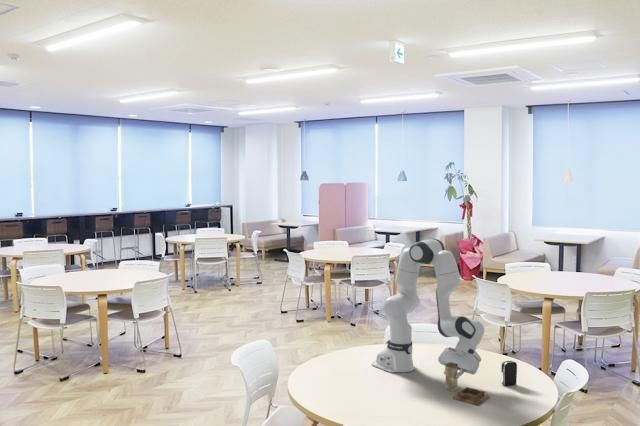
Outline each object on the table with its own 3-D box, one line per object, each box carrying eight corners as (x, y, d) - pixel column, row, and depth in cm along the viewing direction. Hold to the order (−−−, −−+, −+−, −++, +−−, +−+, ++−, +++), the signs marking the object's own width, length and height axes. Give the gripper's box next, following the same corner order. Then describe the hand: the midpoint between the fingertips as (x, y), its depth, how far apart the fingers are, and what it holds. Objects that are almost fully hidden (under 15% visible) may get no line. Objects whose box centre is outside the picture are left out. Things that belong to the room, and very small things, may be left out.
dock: (452, 398, 259) (452, 392, 258) (465, 390, 268) (465, 385, 268) (477, 405, 251) (477, 399, 251) (489, 397, 260) (489, 391, 260)
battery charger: (511, 382, 279) (512, 359, 278) (517, 385, 275) (517, 361, 274) (499, 384, 276) (500, 360, 276) (504, 386, 273) (505, 363, 272)
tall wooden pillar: (445, 389, 270) (445, 364, 269) (449, 386, 273) (449, 362, 272) (453, 391, 267) (453, 366, 266) (457, 388, 270) (457, 363, 269)
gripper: (443, 342, 281) (430, 366, 276) (479, 352, 265) (465, 378, 260) (449, 349, 284) (436, 373, 279) (484, 360, 269) (471, 385, 263)
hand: (450, 376), depth 269 cm, fingers open, 5 cm apart
